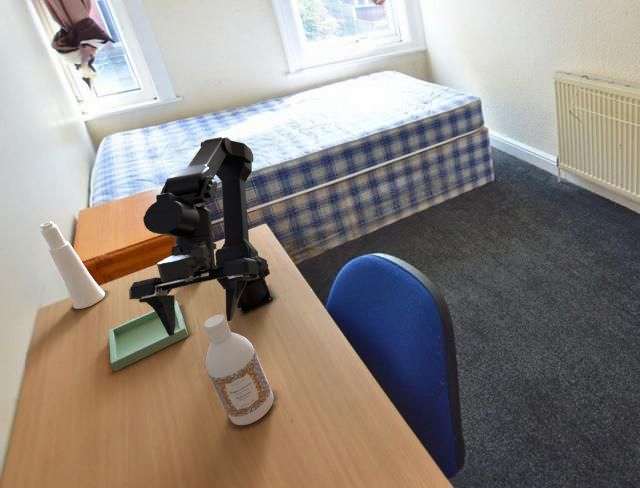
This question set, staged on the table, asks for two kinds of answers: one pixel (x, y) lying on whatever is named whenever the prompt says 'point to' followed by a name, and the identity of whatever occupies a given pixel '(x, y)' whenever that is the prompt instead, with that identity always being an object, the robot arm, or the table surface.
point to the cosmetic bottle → (71, 269)
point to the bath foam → (236, 373)
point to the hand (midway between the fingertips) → (200, 328)
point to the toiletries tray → (142, 338)
